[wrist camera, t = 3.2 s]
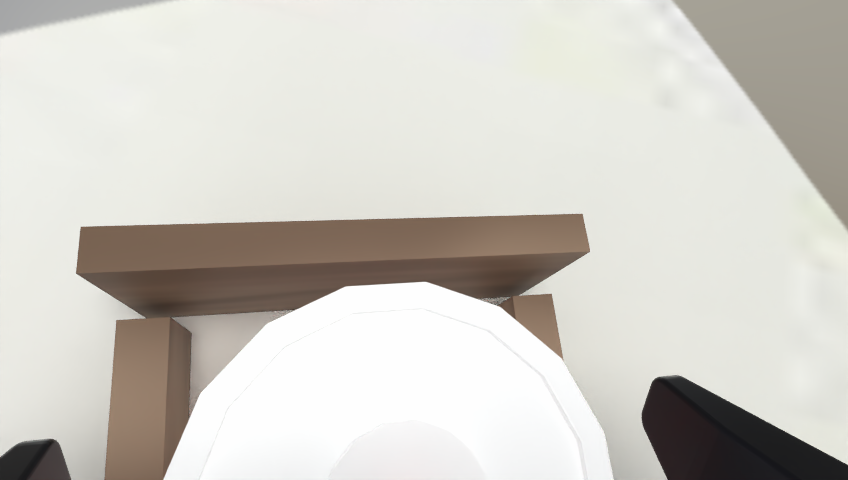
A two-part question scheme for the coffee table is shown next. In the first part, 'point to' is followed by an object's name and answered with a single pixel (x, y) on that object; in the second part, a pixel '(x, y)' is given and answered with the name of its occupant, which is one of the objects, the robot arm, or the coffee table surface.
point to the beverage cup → (393, 397)
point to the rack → (290, 293)
